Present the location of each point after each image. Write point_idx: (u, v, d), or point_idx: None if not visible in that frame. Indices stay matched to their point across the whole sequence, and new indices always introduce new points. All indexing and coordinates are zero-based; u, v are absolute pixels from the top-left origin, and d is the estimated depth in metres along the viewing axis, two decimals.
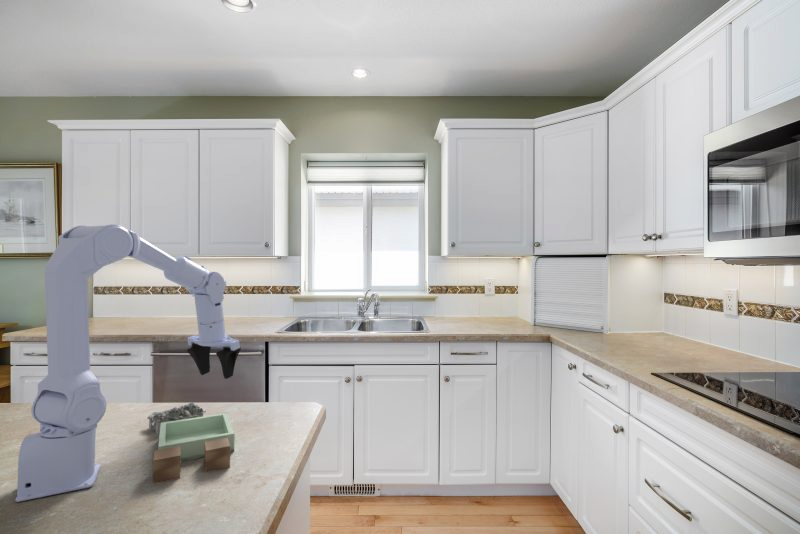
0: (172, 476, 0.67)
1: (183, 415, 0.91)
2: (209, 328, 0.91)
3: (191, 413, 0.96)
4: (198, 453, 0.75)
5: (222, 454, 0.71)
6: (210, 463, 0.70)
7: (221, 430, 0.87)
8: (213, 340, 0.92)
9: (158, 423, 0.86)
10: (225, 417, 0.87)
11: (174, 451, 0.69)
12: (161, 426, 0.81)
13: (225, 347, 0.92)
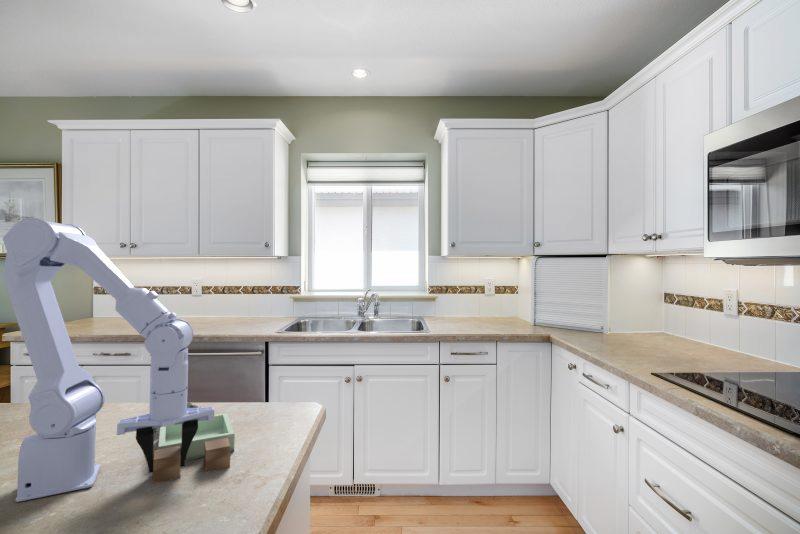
0: (172, 475, 0.67)
1: None
2: None
3: None
4: (198, 453, 0.75)
5: (222, 454, 0.71)
6: (210, 463, 0.70)
7: (221, 430, 0.87)
8: None
9: None
10: (225, 417, 0.87)
11: (174, 450, 0.69)
12: None
13: (138, 426, 0.67)
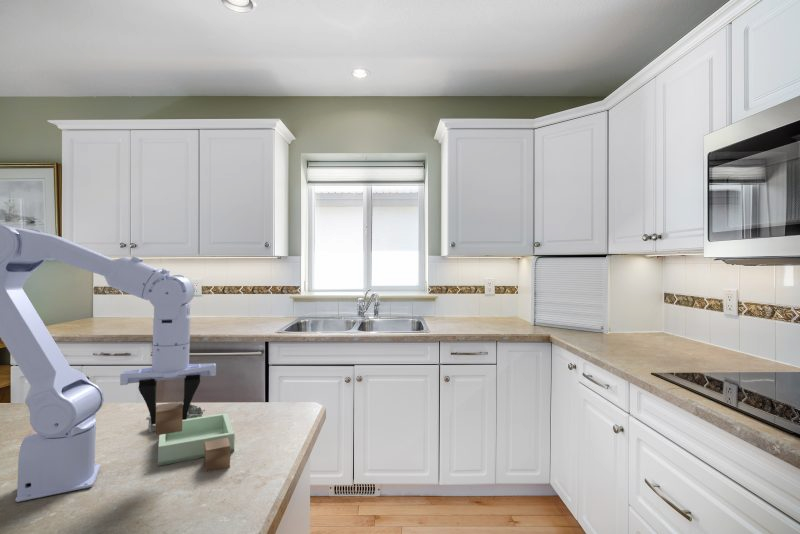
0: (174, 428, 0.68)
1: None
2: None
3: (187, 413, 0.96)
4: (198, 453, 0.75)
5: (222, 454, 0.71)
6: (210, 463, 0.70)
7: (221, 430, 0.87)
8: None
9: None
10: (225, 417, 0.87)
11: (176, 405, 0.70)
12: None
13: None
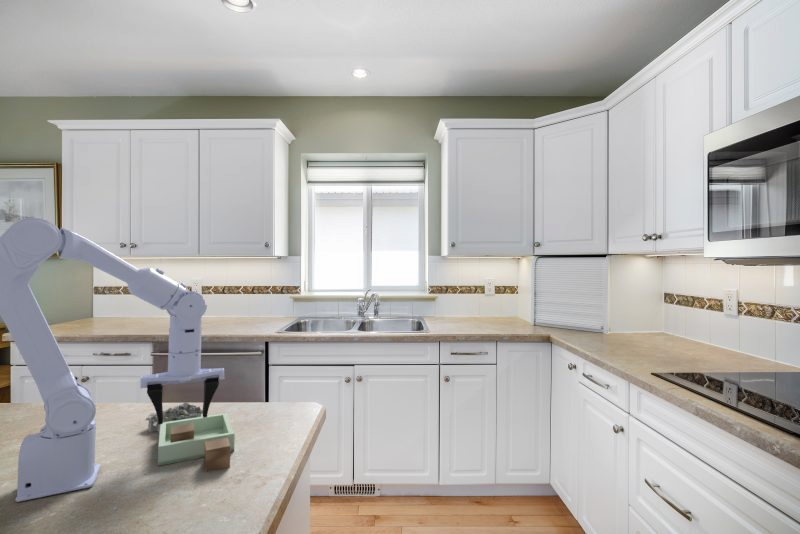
0: None
1: (182, 414, 0.92)
2: None
3: None
4: (198, 453, 0.75)
5: (222, 454, 0.71)
6: (210, 463, 0.70)
7: (221, 430, 0.87)
8: None
9: None
10: (225, 417, 0.87)
11: (188, 427, 0.78)
12: (161, 426, 0.81)
13: None
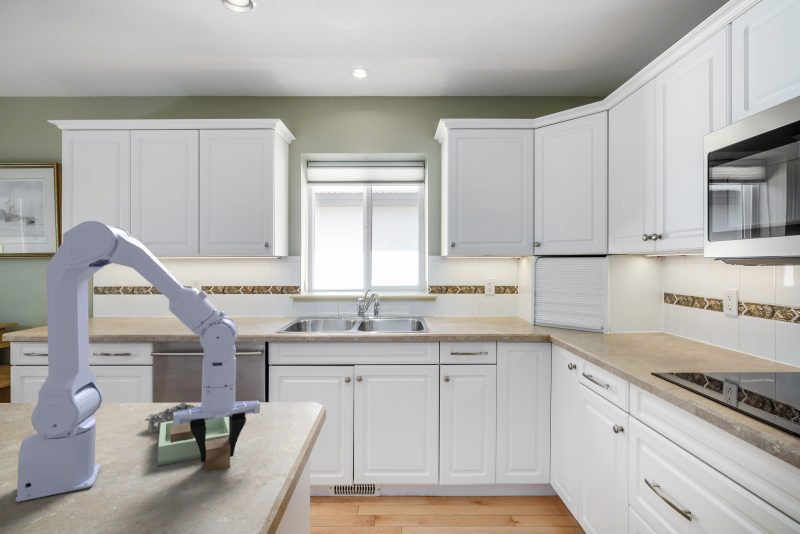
0: None
1: None
2: None
3: None
4: (198, 453, 0.75)
5: (222, 453, 0.71)
6: (210, 462, 0.70)
7: (221, 430, 0.87)
8: None
9: None
10: (225, 417, 0.87)
11: (188, 427, 0.78)
12: (161, 426, 0.81)
13: None
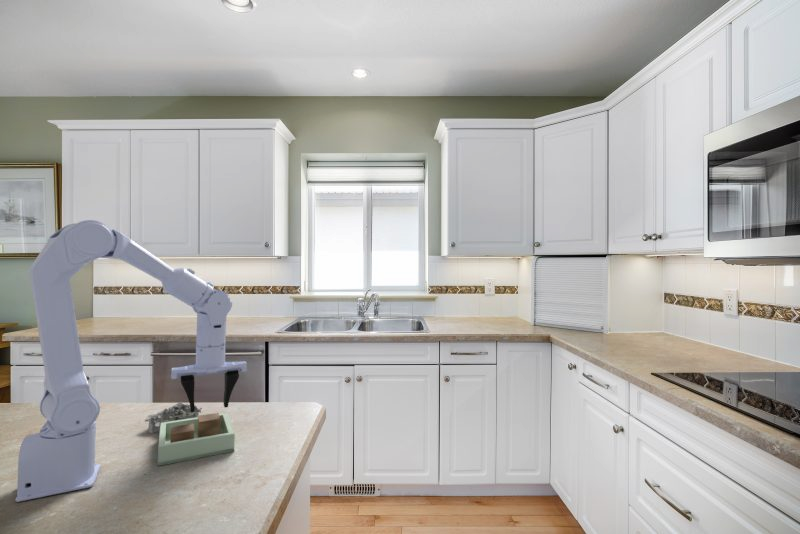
0: None
1: (181, 414, 0.92)
2: None
3: None
4: (198, 453, 0.75)
5: (213, 425, 0.83)
6: (202, 433, 0.82)
7: (221, 430, 0.87)
8: None
9: None
10: (225, 417, 0.87)
11: (188, 427, 0.78)
12: (161, 426, 0.81)
13: None
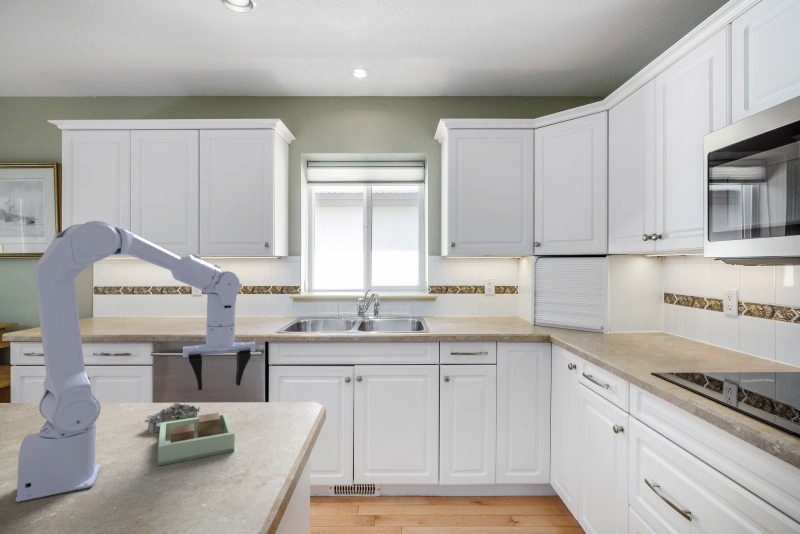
0: None
1: (180, 414, 0.92)
2: None
3: None
4: (198, 453, 0.75)
5: (213, 425, 0.83)
6: (202, 433, 0.82)
7: (221, 430, 0.87)
8: None
9: None
10: (225, 417, 0.87)
11: (188, 427, 0.78)
12: (161, 426, 0.81)
13: None
